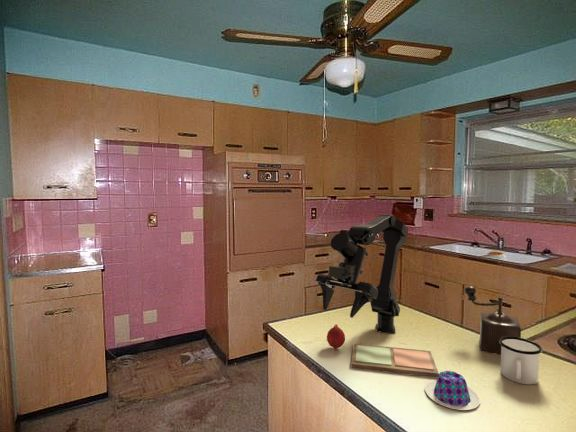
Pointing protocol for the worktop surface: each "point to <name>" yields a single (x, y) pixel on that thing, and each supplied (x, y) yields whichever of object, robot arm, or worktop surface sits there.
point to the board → (394, 360)
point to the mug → (520, 359)
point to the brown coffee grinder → (494, 324)
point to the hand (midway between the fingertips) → (337, 313)
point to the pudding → (452, 391)
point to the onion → (335, 337)
